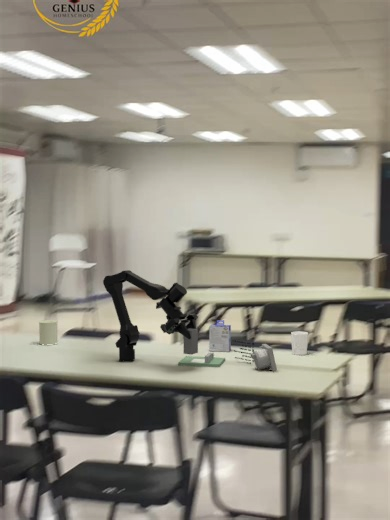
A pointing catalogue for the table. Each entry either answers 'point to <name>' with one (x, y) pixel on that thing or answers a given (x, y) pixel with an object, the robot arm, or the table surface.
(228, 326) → the ink cartridge box
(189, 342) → the grey square pillar
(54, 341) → the can
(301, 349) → the white cup
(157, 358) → the table surface
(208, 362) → the board
